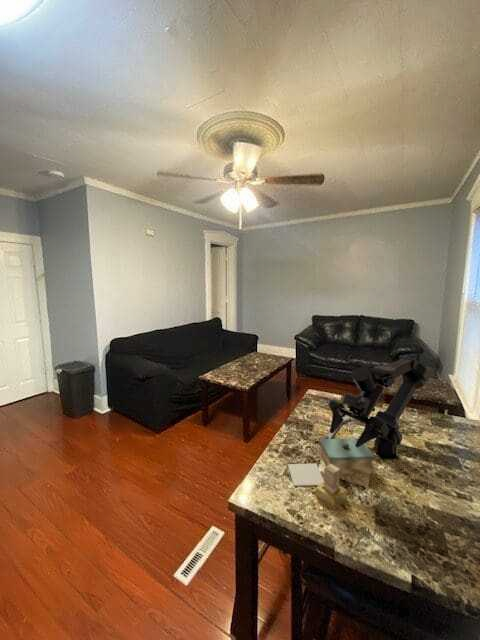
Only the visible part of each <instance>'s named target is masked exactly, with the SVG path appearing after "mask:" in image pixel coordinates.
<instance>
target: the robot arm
mask: <svg viewBox="0 0 480 640" xmlns="http://www.w3.org/2000/svg"><path fill="white" fill-rule="evenodd" d="M400 376H401V377H402V382H401V384H400V385H399V387H398V389H397V391H396V393H395V394H394V395H393V397H392V399H391V401H390V403H389V404H388V406H387V407H386V409H385V410H384V411H381V410H378V411H377V412H376V415H375V416H373V415H372V416H370V415H371V414H372V412H373V413H374V412H375V411H376V408H375V407H376V404H377V403H378V401H379V400H380V398H383V399H384V397H385V394H384V390H383V388H391V387H392V386H393V385H394V384H395V383H396V379H397V378H398V377H400ZM351 378H352V380H353V382H354V383H355V385H356V387H357V388H358V389H359V390H360V391H359V394H355V395H351V394H350V393H344V397H343V398H342V402H340V401H337V400H336V399H332V400H330V401H329V402H328V404H327V406H328V407H329V409H330V412H331V413H332V417H331V424H330V427H329V429H330V433H331V434H332V433H333V432H334V431H335V430H336V429H337V428H338V426H339V425H340V424H341V422H342V421H343V420H344V419H343V418H342V417H345V416H346V415H347V416H349V417H350V419H354V420H356V421H358V422H360V423H363V424H364V429H363V431H362V433H361V434H360V436H359V437H358V438H359V439H358V440H357V443H356V445H355V446H356V447H357V448H358V447H360V446H361V445H363V444H366V443H368V442H370V441H372V440H374V445H373V447H372V450H373V451H374V452H375V453H376V454H377V456H378V457H379V458H380V459H382V460H395V459H396V460H397V459H398V460H399V459H400V456H399V455H398V454H397V448H398V445H401V444H402V443H401V442H402V440H403V437H404V436H403V434H402V433H401V431H400V428H401V427H400V422H399V420H400V419H401V416H402V415H403V413H404V411H405V409H406V407H407V406H408V404H409V402H410V400H411V399H412V397H413V395H414V394H415V392H416V390H419V389H420V388H423V387H425V385H426V384H427V382H428V381H429V380H430V378H431V373H430V371H429V370H428V368H427V367H426V366H424V365H423V364H422V363H420V362H419V360H417V359H416V358H413V357H407V356H402V357H401V358H400V359H398V360H396V361H394V362H392V363H390V364H389V363H388V365H375V366H370V365H367V364H363V365H362V366H360V367H357V368H355V369H353V370H352V371H351ZM381 387H383V388H381ZM344 404H346V407H347V408H346V407H345V405H344ZM341 425H342V424H341ZM341 425H340V426H341ZM338 429H339V428H338Z"/></svg>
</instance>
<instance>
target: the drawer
mask: <svg viewBox="0 0 480 640" xmlns="http://www.w3.org/2000/svg"><path fill="white" fill-rule="evenodd" d="M358 439H359V437H358V438H331V439H328V438H326V439H323V438H322V439H321V438H320V439H319V443H320V457H321V460H322V461H323V463H324V465H325V467H327V466H328V465H330V464H332V465H334V466H335V467H337V468H339V469H340V472H339V475H349V474H351V475H354V474H372V473H373V472H372V471H373V461H374V460H375V456H374V454H373V453H372V452H371V451H370V449H369V448H368V447H367V445H365V444H366V443H365V444H363V445H361V446H360V447H358V448H357V447H356V446H355V445H356V443H357V440H358Z"/></svg>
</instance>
